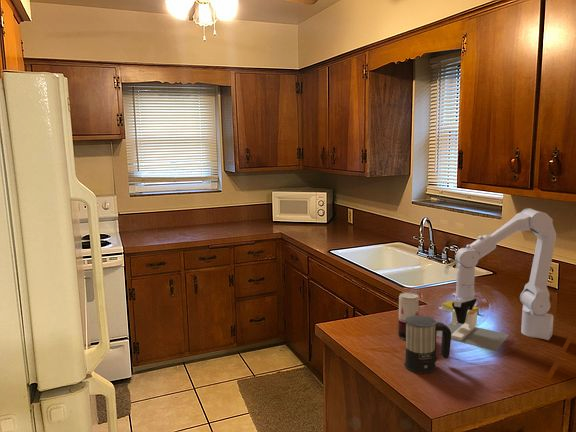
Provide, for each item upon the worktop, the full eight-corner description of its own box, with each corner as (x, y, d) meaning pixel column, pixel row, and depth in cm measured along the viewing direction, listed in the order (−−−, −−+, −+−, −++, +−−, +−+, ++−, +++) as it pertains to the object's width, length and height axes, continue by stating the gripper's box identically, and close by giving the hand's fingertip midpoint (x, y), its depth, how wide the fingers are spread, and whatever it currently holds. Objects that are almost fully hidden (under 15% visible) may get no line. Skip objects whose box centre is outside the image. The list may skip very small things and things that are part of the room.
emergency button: (465, 310, 177) (437, 298, 190) (465, 321, 178) (436, 309, 191) (483, 306, 181) (453, 295, 194) (482, 316, 182) (453, 305, 195)
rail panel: (509, 337, 161) (509, 331, 161) (495, 353, 149) (495, 347, 149) (451, 324, 174) (451, 318, 174) (434, 338, 162) (434, 332, 161)
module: (476, 325, 162) (477, 310, 161) (472, 329, 159) (473, 314, 158) (456, 320, 167) (457, 306, 166) (451, 324, 163) (452, 309, 162)
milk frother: (416, 376, 136) (418, 328, 134) (385, 354, 150) (385, 310, 148) (455, 366, 141) (456, 320, 139) (421, 346, 156) (422, 303, 153)
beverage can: (421, 338, 162) (422, 296, 160) (405, 341, 160) (406, 299, 157) (410, 331, 168) (411, 291, 166) (394, 334, 166) (395, 293, 163)
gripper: (461, 276, 169) (459, 312, 171) (445, 286, 157) (444, 324, 160) (481, 279, 164) (479, 316, 166) (467, 290, 153) (465, 329, 155)
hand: (463, 320), depth 163 cm, fingers closed on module, 4 cm apart
